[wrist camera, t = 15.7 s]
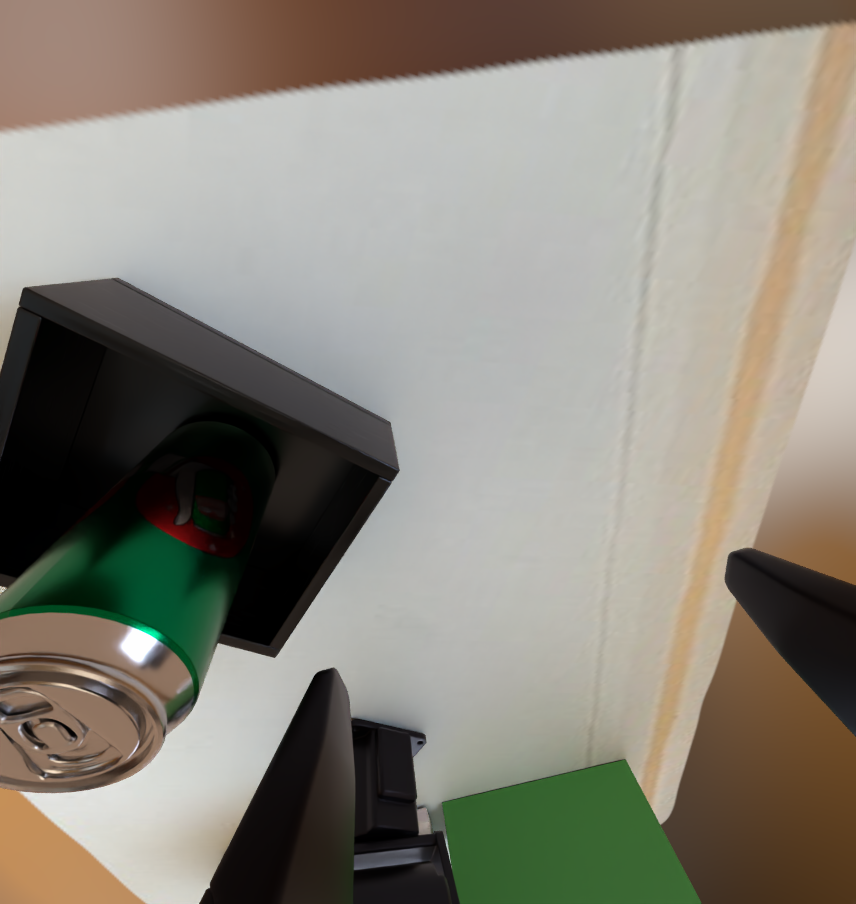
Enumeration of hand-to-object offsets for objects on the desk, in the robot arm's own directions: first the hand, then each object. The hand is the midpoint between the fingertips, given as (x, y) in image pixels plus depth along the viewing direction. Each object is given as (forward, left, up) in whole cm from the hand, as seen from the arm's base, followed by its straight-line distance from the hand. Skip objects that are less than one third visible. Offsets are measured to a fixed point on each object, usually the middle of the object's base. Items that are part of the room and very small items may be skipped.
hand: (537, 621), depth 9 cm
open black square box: (-7, +8, -13) cm, 16 cm away
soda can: (-7, +8, -12) cm, 16 cm away
